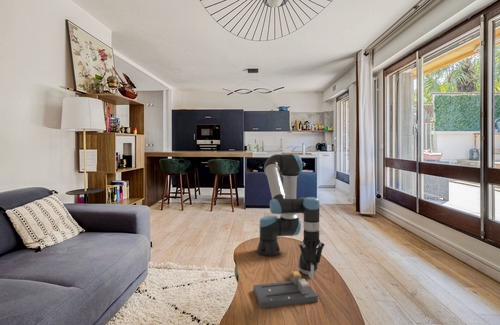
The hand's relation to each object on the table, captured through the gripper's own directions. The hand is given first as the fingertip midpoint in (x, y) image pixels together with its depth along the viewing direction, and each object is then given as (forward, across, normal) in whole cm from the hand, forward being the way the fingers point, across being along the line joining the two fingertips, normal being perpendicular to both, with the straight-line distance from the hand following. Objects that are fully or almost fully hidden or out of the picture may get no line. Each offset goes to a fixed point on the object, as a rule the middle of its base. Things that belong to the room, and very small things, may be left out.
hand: (311, 277), depth 130 cm
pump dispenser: (+5, +5, +14) cm, 16 cm away
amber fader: (+2, -7, 0) cm, 8 cm away
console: (+5, -16, -5) cm, 17 cm away
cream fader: (+2, -7, -8) cm, 11 cm away
